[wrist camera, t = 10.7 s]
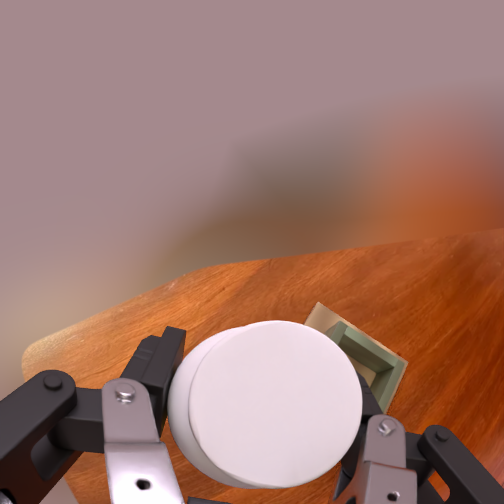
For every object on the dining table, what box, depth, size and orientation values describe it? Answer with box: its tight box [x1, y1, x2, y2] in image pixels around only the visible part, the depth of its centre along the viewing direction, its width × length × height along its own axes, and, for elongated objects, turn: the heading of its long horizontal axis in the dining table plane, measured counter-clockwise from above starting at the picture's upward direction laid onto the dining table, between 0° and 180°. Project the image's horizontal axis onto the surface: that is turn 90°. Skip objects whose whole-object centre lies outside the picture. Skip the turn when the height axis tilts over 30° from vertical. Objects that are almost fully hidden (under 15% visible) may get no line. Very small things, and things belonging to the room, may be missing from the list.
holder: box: [303, 302, 408, 415], centre depth 27 cm, size 13×13×5 cm
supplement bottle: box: [167, 321, 362, 489], centre depth 10 cm, size 5×5×10 cm
